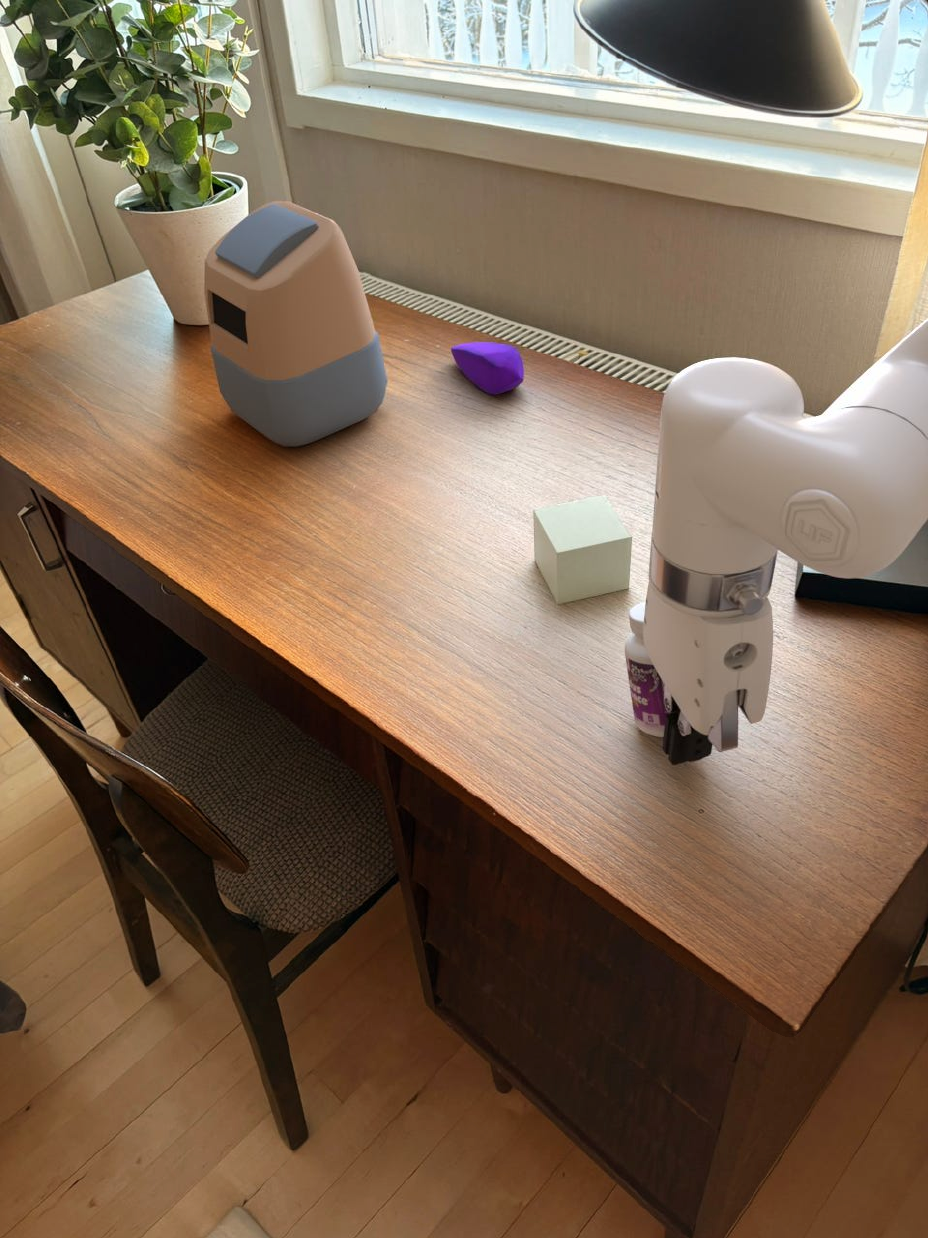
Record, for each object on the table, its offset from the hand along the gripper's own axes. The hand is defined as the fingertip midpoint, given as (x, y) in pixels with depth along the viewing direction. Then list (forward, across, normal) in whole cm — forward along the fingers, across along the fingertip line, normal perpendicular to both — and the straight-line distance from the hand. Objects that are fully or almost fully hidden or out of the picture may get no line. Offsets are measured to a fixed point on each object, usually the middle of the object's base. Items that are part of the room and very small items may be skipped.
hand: (686, 752), depth 70 cm
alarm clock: (+2, +65, +20) cm, 68 cm away
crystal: (+2, +65, -3) cm, 65 cm away
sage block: (+2, +24, -1) cm, 24 cm away
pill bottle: (+1, +4, 0) cm, 4 cm away
